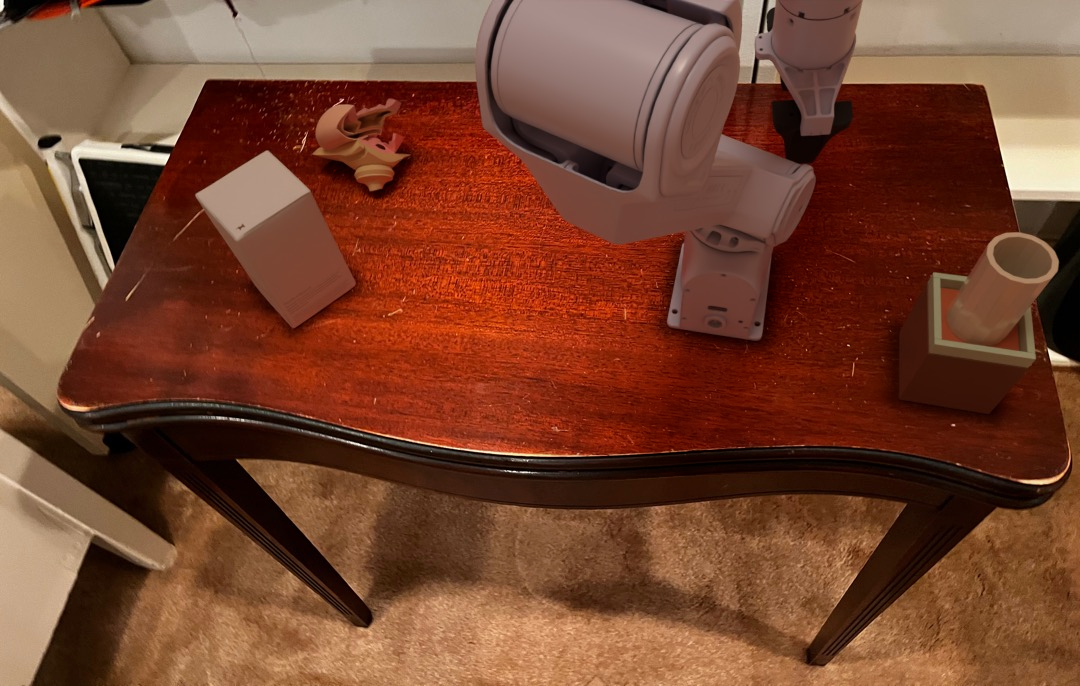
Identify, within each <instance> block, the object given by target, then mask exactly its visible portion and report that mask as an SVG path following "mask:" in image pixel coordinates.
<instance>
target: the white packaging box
mask: <svg viewBox="0 0 1080 686" xmlns="http://www.w3.org/2000/svg"><path fill="white" fill-rule="evenodd" d="M194 196H195V198H196V200H197V201H198V203H199V204H200V206H201V208H202V209H203V210H204V213H205V215H207V217H208V218H209V220H210V222H211V223H212V224H213V226H214V227H215V229H216V230H217V232H218V233H219V234H220V236H221V237H222V239H223V240H224V242H225V243H226V244H227V247H229V249H230V250H231V252H232V254H233V255H234V256H235V258H236V260H237V261H238V262H239V263H240V265H241V266H242V268H243V269H244V271H245V273H246V274H247V276H248V277H249V279H250V280H251V282H252V283H253V285H254V287H256V289H257V290H258V292H260V293H261V295H262V296H263V297H264V298H265V299H266V301H267V302H268V303H269V305H270V306H272V307H273V309H274V310H275V311H276V312H277V313H278V314H279V315H280V316H281V318H282V319H283V320H284V321H285V322H286V323H287V324H288V325H289V327H291V328H292V329H296V328H297V327H298V326H300V325H301V324H303V323H305V322H306V321H308V320H309V319H310V318H311V317H313V316H315V315H316V314H317V313H319V312H320V311H322V310H323V309H325V308H326V307H328V306H329V305H330V304H332V303H334V302H335V301H336V300H338V299H339V298H340V297H342V296H343V295H345V294H347V292H349V291H350V290H351V289H353V288H354V287H355V286H356V284H357V282H356V280H355V278H354V276H353V274H352V272H351V270H350V267H349V266H348V264H347V261H346V260H345V258H344V256H343V254H342V252H341V250H340V248H339V245H338V244H337V242H336V240H335V238H334V236H333V234H332V232H331V230H330V228H329V226H328V224H327V222H326V220H325V218H324V216H323V214H322V212H321V210H320V208H319V205H318V203H317V202H316V200H315V197H314V196H313V193H312V191H311V189H309V187H307V185H306V184H305V183H303V182H302V181H301V180H300V179H299V178H298V177H297V176H296V175H295V174H294V173H293V172H292V171H291V170H290V169H288V168H287V166H285V165H284V164H283V163H282V162H281V161H280V160H279V159H278V158H277V157H276V156H275V155H274V154H273V153H272V152H271V151H270V150H265V151H263V152H262V153H260V154H258V155H257V156H254V157H253V158H252V159H250V160H248V161H246V162H245V163H244V164H242V165H240V166H239V167H237V168H236V169H234V170H232V171H231V172H229V173H227V174H226V175H225V176H223V177H221V178H220V179H218V180H216V181H214V183H211V184H210V185H208V186H207V187H205V188H204V189H202V190H200V191H198V192H196V193H195V194H194Z"/></svg>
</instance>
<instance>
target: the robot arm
mask: <svg viewBox="0 0 1080 686" xmlns="http://www.w3.org/2000/svg"><path fill="white" fill-rule="evenodd" d="M863 1H864V0H775V4H774V7H772V8H770V9H769V10H768V11H767V12H766V16H765V17H766V18H765V19H766V20H765V21H766V31H767V32H761V33H758V34H756V35H755V37H754V56H755V58H756V59H757V60H759V61H770V62H771V63H772V64H773V66H774V68H775V70H776V71H777V73H778V74H779V80H780V81H779V82H780V87H781V90H782V92H789V94H790V95H791V97H792V99H785V100H784V99H783V100H773V101H771V116H772V124H773V128H774V130H775V132H776V133H777V134H779V136H780V137H781V138H782V141H783V144H784V145H783V146H784V155H785V156H784V157H782V156H779V155H777V154H774V153H772V152H770V151H766V150H764V149H761V148H759V147H756V146H754V145H751V144H748V143H745V142H743V141H740V140H737V139H735V138H732V137H730V136H727V135H725V134H722V133H723V130H724V127H725V123H726V121H727V119H728V116H729V114H730V111H731V108H732V105H733V102H734V99H735V96H736V92H737V89H738V85H739V84H738V83H739V79H740V71H741V58H740V49H741V43H742V33H743V14H742V13H743V12H742V6H741V1H740V0H491V2H490V3H489V5H488V7H487V9H486V11H485V13H484V16H483V18H482V21H481V23H480V27H479V30H478V34H477V38H476V44H475V52H474V66H475V68H474V69H475V70H474V71H475V81H476V89H477V96H478V104H479V110H480V118H481V125H482V128H483V129H484V131H486V133H488V134H489V135H490V136H492V137H493V138H494V139H495V140H496V141H498V142H499V143H500V144H501V145H503V146H504V147H505V148H506V149H508V150H509V151H510V152H511V153H512V154H514V155H515V156H516V157H517V158H518V159H519V160H520V161H521V162H522V163H523V164H524V166H525V167H526V169H527V170H528V171H529V173H530V174H531V176H532V177H533V179H534V180H535V181H536V183H537V184H538V186H539V187H540V189H541V190H542V192H543V193H544V194H545V196H546V198H547V199H548V200H549V202H550V203H551V204H552V206H553V207H554V209H555V210H556V211H557V213H558V214H559V216H560V217H561V218H562V219H563V220H564V221H565V222H566V223H568V224H571V225H572V226H575V228H576V227H577V228H578V229H581V230H582V231H585V232H587V233H589V234H592V235H593V236H595V237H597V238H599V239H602V240H604V241H606V242H609V243H610V244H613V245H617V246H620V245H626V244H630V243H635V242H641V241H646V240H651V239H654V238H660V237H665V236H669V235H675V234H680V233H684V232H685V233H684V241H683V243H682V244H681V249H680V253H679V259H678V265H677V269H676V274H675V279H674V284H673V289H672V295H671V300H670V304H669V309H668V310H669V311H668V315H667V320H666V324H667V326H668V328H671V329H677V330H683V331H684V330H685V331H690V332H697V333H703V334H709V335H715V336H722V337H723V336H724V337H729V338H734V339H742V340H748V341H755V342H757V341H760V340H762V337H763V333H764V332H763V330H764V324H765V323H764V322H765V316H766V315H765V314H766V308H767V307H766V305H767V296H768V290H769V281H770V271H771V264H772V254H773V251H774V247H777V246H778V245H780V244H783V243H785V242H786V241H788V239H789V238H790V237H791V235H792V234H793V233H794V231H795V230H796V228H797V226H798V225H799V223H800V221H801V219H802V217H803V216H804V213H805V211H806V209H807V207H808V205H809V203H810V200H811V197H812V195H813V192H814V189H815V187H816V181H817V178H816V175H815V172H814V167H813V166H812V165H810V164H813V163H815V161H816V159H817V158H818V157H819V155H820V154H821V152H822V151H823V150H824V148H825V146H826V145H827V144H828V142H829V141H831V139H833V137H835V136H836V135H838V134H839V133H842V132H843V131H845V130H847V129H848V128H849V127H850V125H851V124H852V122H853V118H854V109H853V100H850V99H849V100H837V97H838V95H839V92H840V89H841V87H842V84H843V81H844V79H845V76H846V74H847V71H848V69H849V66H850V63H851V60H852V58H853V56H854V52H855V49H856V44H857V33H856V32H857V27H858V24H859V19H860V15H861V11H862V7H863ZM674 312H675V313H674Z"/></svg>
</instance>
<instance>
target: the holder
mask: <svg viewBox="0 0 1080 686" xmlns="http://www.w3.org/2000/svg"><path fill="white" fill-rule="evenodd" d="M967 277H968V276H964V275H958V274H951V273H950V274H949V273H943V272H935V271H933V272H932V274H931V276H930V277H929V279H928V281H926V283H925V285H924V286H923V288H922V290H921V292H920V294H919V295H918V297H917V299H916V301H915V303H914V304H913V307H912V308H911V309H910V311H909V314H908V316H907V317H906V319H905V321H904V322H903V324H902V326H901V328H900V330H899V333H898V339H899V340H898V400H900V401H905V402H910V403H911V402H913V403H917V404H923V405H929V406H935V407H942V408H947V409H953V410H960V411H965V412H966V411H967V412H972V413H977V414H984V415H990V414H991V412H992V411H993V410H995V408H996V407H997V406H998V405H999V404H1000V402H1001V401H1002V400H1003V399H1004V398H1005V397H1006V396H1007V395H1008V393H1009V392H1010V391H1011V390H1012V389H1013V388H1014V387H1015V385H1016V384H1017V383H1019V381H1020V379H1022V377H1023V376H1024V375H1025V374H1026V373H1027V371H1029V369H1030V366H1032V364H1033V363H1034V362H1035V361H1036V360H1037V355H1036V347H1035V346H1036V345H1035V337H1034V336H1035V335H1034V325H1033V324H1034V323H1033V316H1032V315H1033V314H1032V305H1031V306H1030V307H1029V309H1028V310H1027V311H1026V313H1025V314H1024V315H1023V316H1022V318H1021V319H1020V320H1019V322H1018V323H1017V324H1016V325H1015V327H1014V328H1013V329H1012V330H1011V332H1010V333H1009V334H1008V335H1007V337H1006V338H1005V339H1004V340H1003V341H1002V342H1000V343H998V344H996V345H992V346H981V345H974V344H969V343H967V342H965V341H963V340H961V339H960V338H958V337H957V336H956V335H955V334H954V333H953V332H952V331H951V330H950V328H949V326H948V324H947V320H946V314H947V311H948V309H949V307H950V305H951V303H952V301H953V300H954V298H955V297H956V295H957V293H958V292H959V290H960V289H961V287H962V285H963V284H964V282H965V281H966V279H967Z"/></svg>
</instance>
